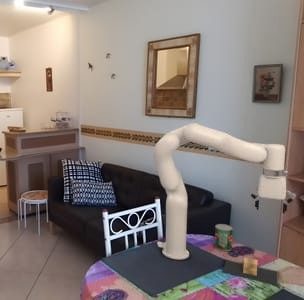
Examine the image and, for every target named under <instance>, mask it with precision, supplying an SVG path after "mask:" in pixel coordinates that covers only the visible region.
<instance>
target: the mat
mask: <svg viewBox="0 0 304 300" xmlns="http://www.w3.org/2000/svg"><path fill="white" fill-rule="evenodd" d="M223 266H224V267H223V269H222V273H225V274H229V275H232V276H237V277H241V278H246V279H249V280H253V281H258V282H262V283H266V284H270V285H274V286H278V271H277V270H272V269H267V268H263V267H259V266H257V276H255V275H251V274H247V273H243V268H244V263H240V262H236V261H232V260H225V264H224V265H223Z"/></svg>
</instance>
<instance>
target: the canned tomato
mask: <svg viewBox="0 0 304 300" xmlns="http://www.w3.org/2000/svg"><path fill="white" fill-rule="evenodd" d="M214 227H215V229H214V231H215V232H214V248H215V249H216V250H219V251H221V252H230V251H232V250H233V249H232V248H233V230H234V229H233V227H232V226H231V225H228V224H225V223H219V224H218V223H217V224H215V226H214Z"/></svg>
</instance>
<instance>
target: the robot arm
mask: <svg viewBox="0 0 304 300" xmlns="http://www.w3.org/2000/svg"><path fill="white" fill-rule="evenodd" d="M189 143H194V144H197V145H200V146H202V147H205V148H209V149H211V150H212V149H213V150H215V151H217V152H220V153H223V154H226V155H229V156H231V157H235V158H237V159H241V160H244V161H247V162H250V163H253V164H259V163H262V162H263V164H262V173H261V174H260V175H259V180H258V185H257V186H256V187H253V188H249V189H248V193H249V195H250V198H252V199H253V200H254V207H255V208H256V211H258V210H259V209H260V200H261V198H263V199H268V200H269V199H271V200H279V201H282V214H285V213H286V212H287V211H288V206H289V204H291V203H292V202H293V201H294V200H295V199H296V197H297V194H295V193H294V192H291V191H290V190H288V189H287V179H286V176H285V175H288V174H289V171H288V170H285V162H286V161H285V160H286V146H285V145H283V144H279V143H268V144H267V143H259V142H248V141H245V140H243V139H239V138H237V137H235V136H233V135H231V134H229V133H226V132H224V131H221V130H217V129H214V128H210V127H207V126H204V125H202V124H199V123H197V122H189V123H187V124H186V125H183V126H181V127H179V128H176V129H173V130H171V131H169V132H167V133H165V134H164V135H163V136H162V137H161V138H160V139H159V140H158V141H157V143H156V144H155V146H154V148H153V160H154V163H155V167H156V172H157V174H158V177H159V181H160V182H159V183H160V184H161V186H162V187H163V189H164V190H165V193H166V195H167V196H166V201H165V241H164V242H163V241H159V240H158V241H157V244H156V245H157V247H158V248H162V250H161V252H162V254H163V256H164V257H166V258H169V259H172V260H179V261H180V260H186V259H188V258H189V257H190V252H189V251H188V250H187V226H188V225H187V224H188V203H189V202H188V193H187V189H186V186H185V183H184V181H183V178H182V173H181V172H180V171H179V170H178V169H177V167H176V165H175V161H174V158H173V153H174V152H175V151H177V149H178V148H179V147H181V146H183V145H187V144H189ZM254 192H257V195H256V194H255V193H254ZM287 195H288V196H290V197H289V198H288V199H287V198H286V196H287Z"/></svg>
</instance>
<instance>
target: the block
mask: <svg viewBox="0 0 304 300" xmlns="http://www.w3.org/2000/svg"><path fill="white" fill-rule="evenodd" d="M258 262H259V260H258V259H254V258H250V257H246V256H245V257H244V259H243V264H244V268H243V273H247V274H251V275H255V276H257V267H258V265H259V264H258Z"/></svg>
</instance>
